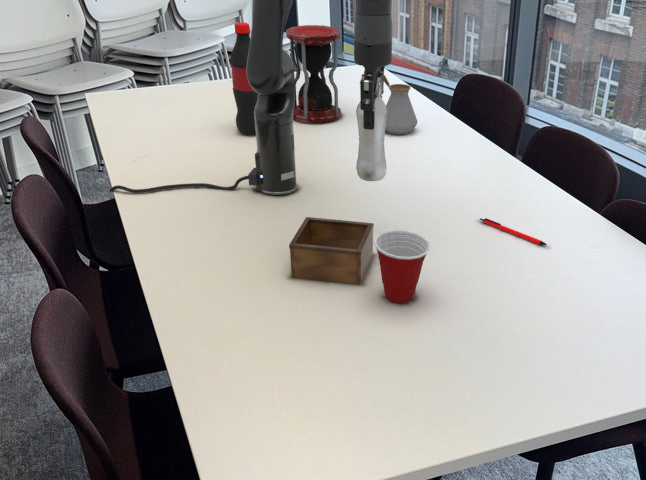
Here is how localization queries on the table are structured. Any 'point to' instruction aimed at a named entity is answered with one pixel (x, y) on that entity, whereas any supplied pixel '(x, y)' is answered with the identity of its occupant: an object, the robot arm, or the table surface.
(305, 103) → the hourglass
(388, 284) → the plastic cup
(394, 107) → the coffee pot
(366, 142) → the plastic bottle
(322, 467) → the table surface
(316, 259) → the wooden box
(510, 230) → the pen
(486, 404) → the table surface
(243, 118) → the cola bottle
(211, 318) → the table surface
